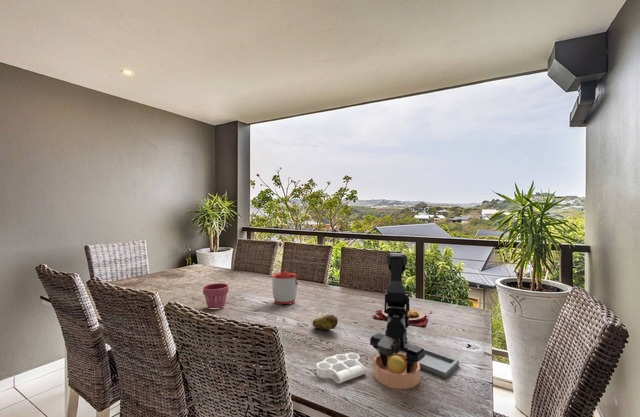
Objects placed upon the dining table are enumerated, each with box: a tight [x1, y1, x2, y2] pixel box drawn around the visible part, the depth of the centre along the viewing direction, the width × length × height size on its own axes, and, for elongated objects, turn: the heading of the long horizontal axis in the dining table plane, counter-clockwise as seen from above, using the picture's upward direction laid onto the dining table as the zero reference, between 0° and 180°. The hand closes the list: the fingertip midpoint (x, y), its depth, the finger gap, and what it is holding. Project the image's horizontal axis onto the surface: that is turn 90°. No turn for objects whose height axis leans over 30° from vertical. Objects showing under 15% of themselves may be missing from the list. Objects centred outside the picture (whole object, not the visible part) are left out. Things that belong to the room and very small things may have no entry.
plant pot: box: [202, 282, 230, 309], centre depth 181 cm, size 14×14×13 cm
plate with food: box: [372, 306, 432, 327], centre depth 167 cm, size 25×26×4 cm
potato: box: [312, 314, 339, 331], centre depth 147 cm, size 8×13×8 cm, turn 36°
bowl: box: [372, 352, 421, 390], centre depth 107 cm, size 16×16×4 cm
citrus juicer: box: [271, 269, 301, 305], centre depth 190 cm, size 16×17×20 cm
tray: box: [418, 347, 460, 379], centre depth 115 cm, size 16×12×2 cm
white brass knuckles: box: [315, 352, 368, 384], centre depth 111 cm, size 3×18×15 cm
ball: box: [388, 356, 405, 374], centre depth 107 cm, size 6×6×6 cm
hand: (396, 370), depth 107 cm, fingers open, 9 cm apart
